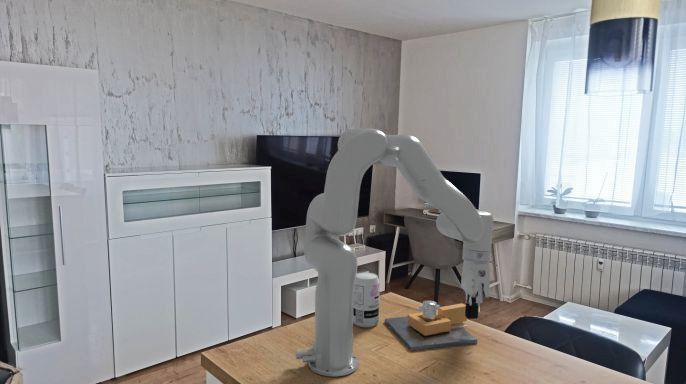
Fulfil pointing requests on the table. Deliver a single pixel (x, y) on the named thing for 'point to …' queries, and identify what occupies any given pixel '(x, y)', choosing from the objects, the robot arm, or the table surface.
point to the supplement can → (366, 300)
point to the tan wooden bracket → (439, 319)
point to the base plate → (438, 340)
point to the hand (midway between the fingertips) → (471, 317)
